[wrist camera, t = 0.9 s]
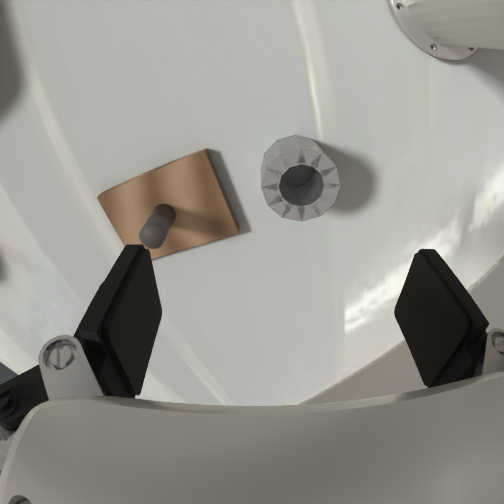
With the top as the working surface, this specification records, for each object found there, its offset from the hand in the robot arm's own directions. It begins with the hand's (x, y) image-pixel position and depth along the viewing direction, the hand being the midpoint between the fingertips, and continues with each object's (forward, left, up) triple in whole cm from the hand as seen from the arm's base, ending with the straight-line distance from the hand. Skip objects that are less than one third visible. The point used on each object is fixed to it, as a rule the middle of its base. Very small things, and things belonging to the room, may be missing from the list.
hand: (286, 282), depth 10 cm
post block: (+13, +4, -23) cm, 26 cm away
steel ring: (-2, +4, -23) cm, 23 cm away
